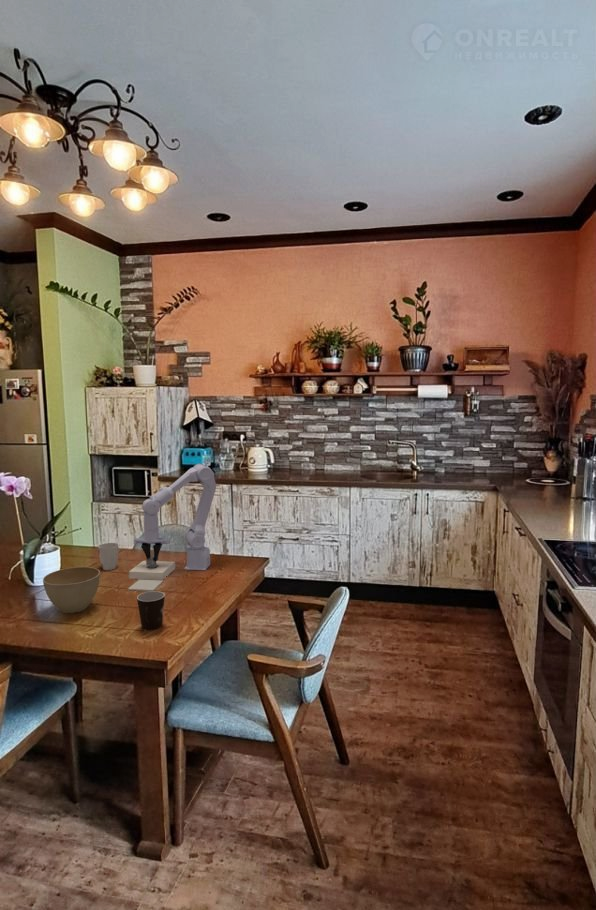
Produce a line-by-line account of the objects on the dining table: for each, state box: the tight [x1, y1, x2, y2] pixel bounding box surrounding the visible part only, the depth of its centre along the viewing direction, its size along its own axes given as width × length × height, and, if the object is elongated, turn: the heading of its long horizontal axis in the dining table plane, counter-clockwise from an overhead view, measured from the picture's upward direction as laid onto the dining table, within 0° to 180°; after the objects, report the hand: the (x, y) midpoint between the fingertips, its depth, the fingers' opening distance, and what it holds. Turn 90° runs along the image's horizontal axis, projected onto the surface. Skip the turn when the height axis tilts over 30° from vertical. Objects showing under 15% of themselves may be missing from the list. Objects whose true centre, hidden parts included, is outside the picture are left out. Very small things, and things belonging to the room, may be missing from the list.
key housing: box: [128, 560, 176, 581], centre depth 222 cm, size 14×14×3 cm
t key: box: [145, 552, 160, 568], centre depth 222 cm, size 8×3×6 cm, turn 176°
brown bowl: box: [42, 566, 101, 614], centre depth 186 cm, size 18×18×12 cm
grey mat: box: [127, 579, 164, 592], centre depth 208 cm, size 10×10×1 cm
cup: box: [97, 542, 119, 571], centre depth 228 cm, size 8×8×10 cm
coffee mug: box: [136, 590, 166, 631], centre depth 171 cm, size 12×9×10 cm
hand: (152, 560), depth 222 cm, fingers closed on t key, 2 cm apart
